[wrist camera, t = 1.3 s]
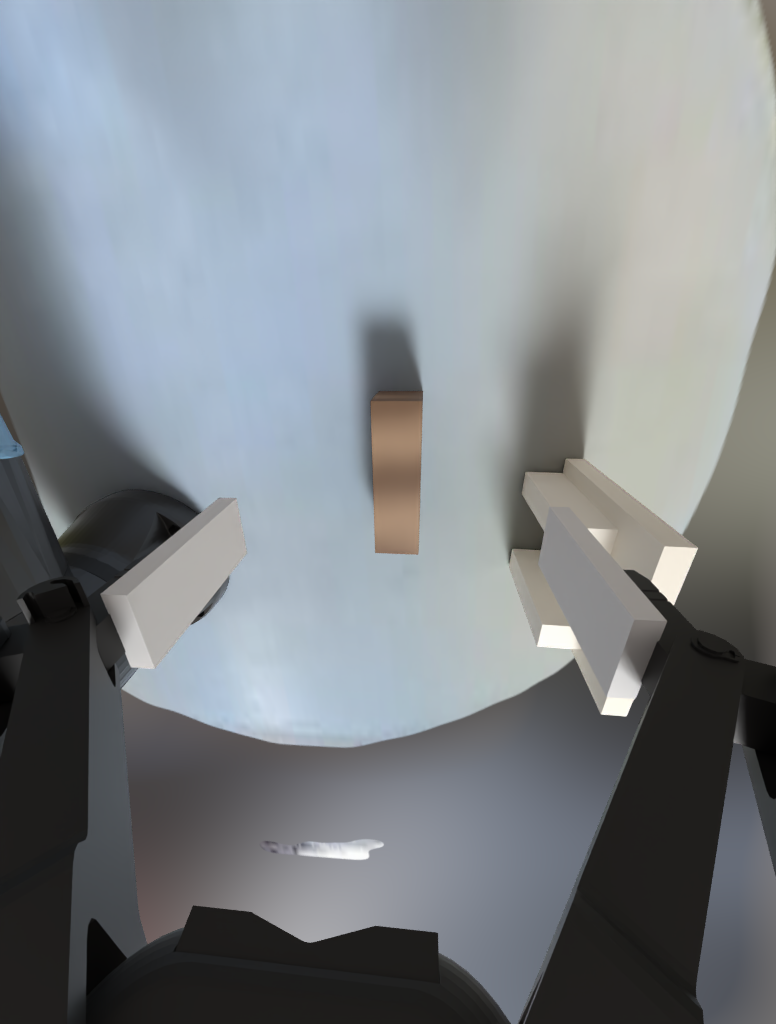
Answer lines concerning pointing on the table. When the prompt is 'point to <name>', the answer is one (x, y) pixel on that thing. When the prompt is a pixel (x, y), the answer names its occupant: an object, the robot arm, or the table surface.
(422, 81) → the table surface
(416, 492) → the brown rectangular block
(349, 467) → the table surface
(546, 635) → the white twin-rail base
